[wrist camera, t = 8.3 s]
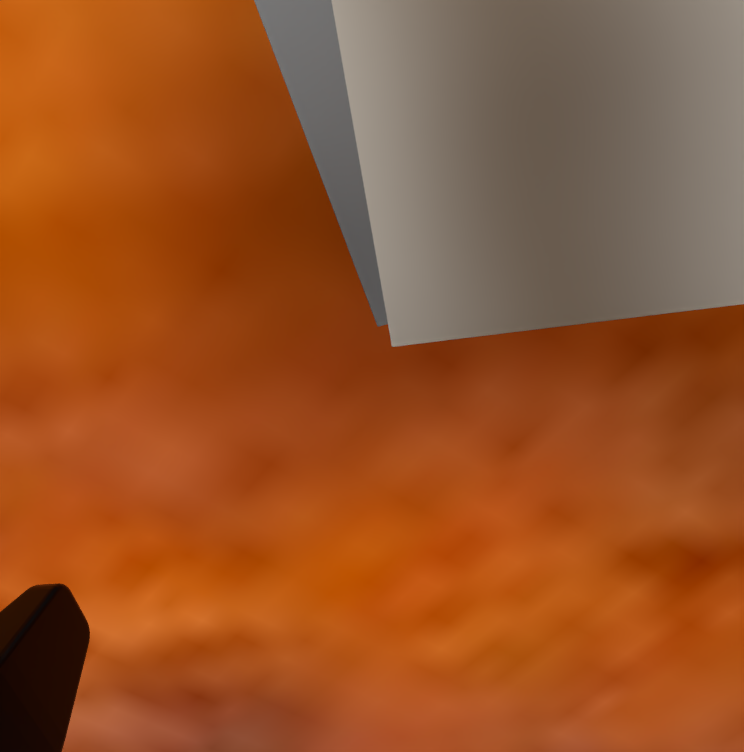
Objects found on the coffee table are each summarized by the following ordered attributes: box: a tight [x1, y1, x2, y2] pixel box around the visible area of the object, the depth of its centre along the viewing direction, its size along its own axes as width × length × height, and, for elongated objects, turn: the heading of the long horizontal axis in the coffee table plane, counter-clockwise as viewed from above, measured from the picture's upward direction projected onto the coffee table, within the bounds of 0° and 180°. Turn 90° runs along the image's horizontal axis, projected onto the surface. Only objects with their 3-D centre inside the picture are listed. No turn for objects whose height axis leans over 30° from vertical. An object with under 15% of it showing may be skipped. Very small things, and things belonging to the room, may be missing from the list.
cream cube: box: [331, 0, 744, 347], centre depth 10 cm, size 5×5×5 cm
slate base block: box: [254, 0, 388, 326], centre depth 14 cm, size 8×8×4 cm
